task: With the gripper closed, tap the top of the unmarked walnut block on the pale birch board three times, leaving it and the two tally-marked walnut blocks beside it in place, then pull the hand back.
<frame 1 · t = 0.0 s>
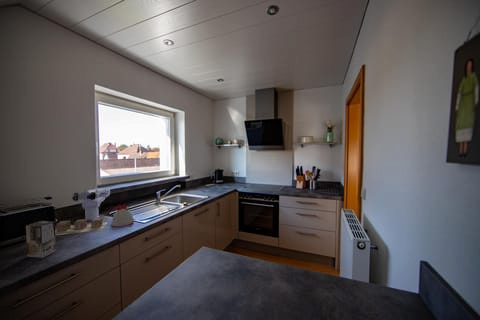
hand: (80, 197, 121), 22 cm above the table, tool horizontal, fingers open, 7 cm apart
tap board: (80, 229, 121), on the table
two bar block: (97, 226, 125), point 1 cm above the table, touching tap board
one bar block: (80, 228, 121), point 1 cm above the table, touching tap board
plain block: (63, 229, 118), point 1 cm above the table, touching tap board
coffee box: (41, 254, 92), on the table
white red-topped dome: (122, 224, 132), on the table
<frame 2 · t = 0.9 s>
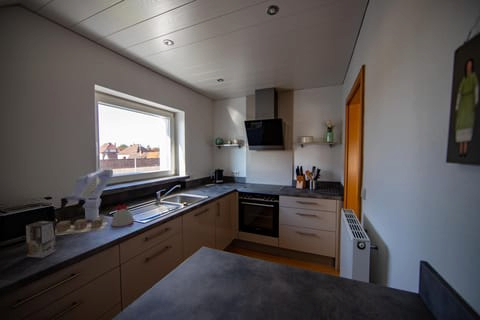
hand: (68, 210, 117), 14 cm above the table, tool tilted 40°, fingers open, 7 cm apart
nothing on the table moved.
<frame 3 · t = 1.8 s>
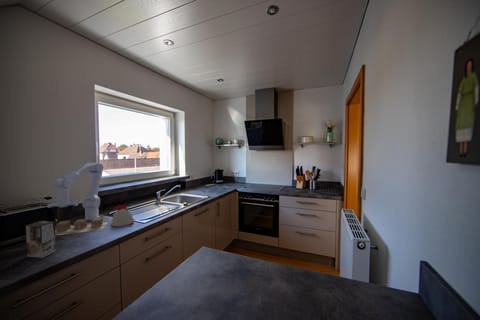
hand: (63, 217, 118), 9 cm above the table, tool pointing down, fingers open, 5 cm apart
nothing on the table moved.
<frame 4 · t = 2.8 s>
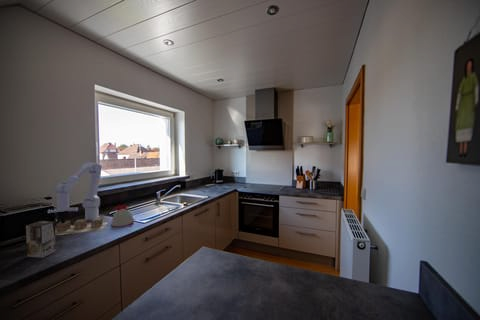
hand: (63, 222, 118), 6 cm above the table, tool pointing down, fingers closed, pressing on plain block
plain block: (63, 229, 118), point 1 cm above the table, touching gripper, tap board
everything else where it was.
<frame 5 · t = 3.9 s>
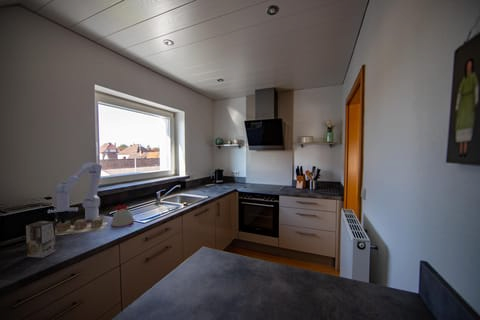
hand: (63, 222, 118), 6 cm above the table, tool pointing down, fingers closed, pressing on plain block
plain block: (63, 229, 118), point 1 cm above the table, touching gripper, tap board
everything else where it was.
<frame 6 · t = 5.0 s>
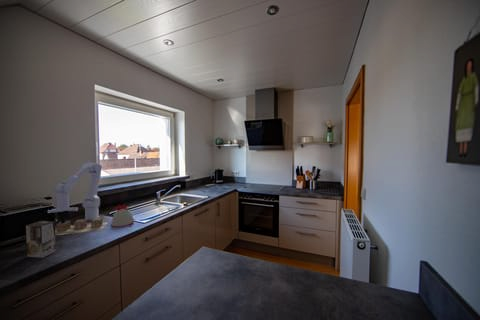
hand: (63, 222, 118), 6 cm above the table, tool pointing down, fingers closed, pressing on plain block
plain block: (63, 229, 118), point 1 cm above the table, touching gripper, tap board
everything else where it was.
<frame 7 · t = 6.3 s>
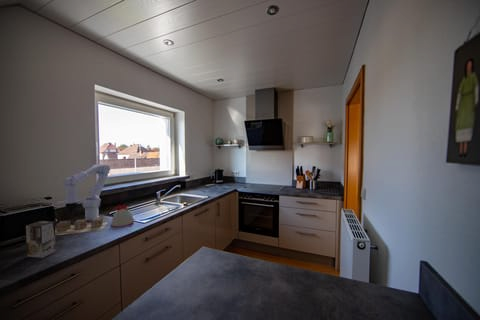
hand: (71, 214, 124), 9 cm above the table, tool pointing down, fingers closed
plain block: (63, 229, 118), point 1 cm above the table, touching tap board
everything else where it was.
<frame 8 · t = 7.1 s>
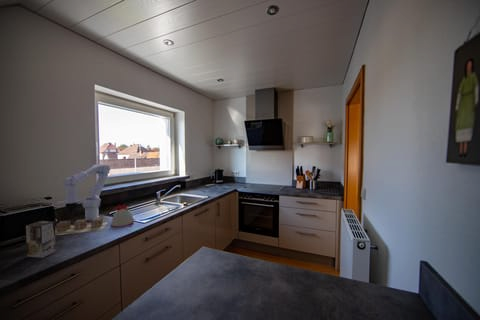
hand: (71, 214, 124), 9 cm above the table, tool pointing down, fingers closed
nothing on the table moved.
at the end: plain block moved 0.0 cm from its start; plain block tilted 0°; one bar block moved 0.0 cm from its start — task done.
